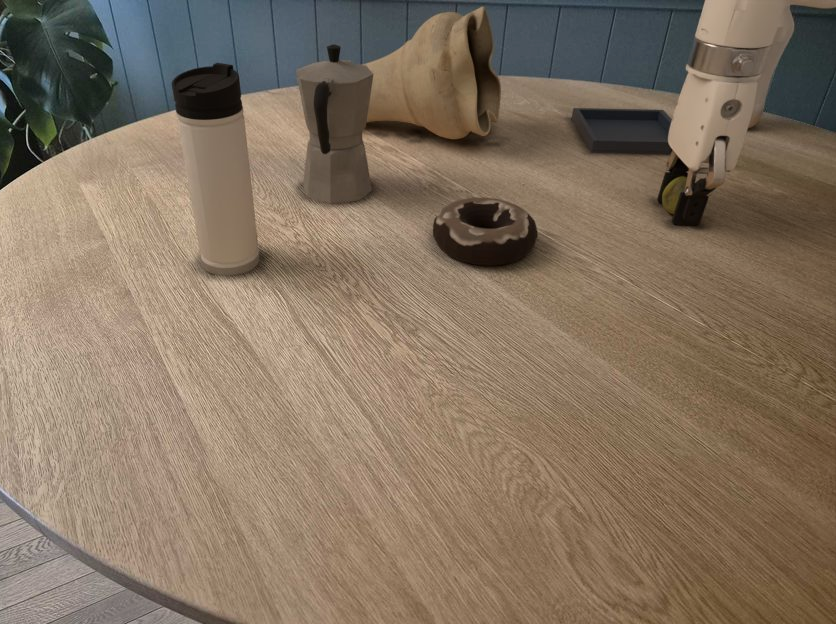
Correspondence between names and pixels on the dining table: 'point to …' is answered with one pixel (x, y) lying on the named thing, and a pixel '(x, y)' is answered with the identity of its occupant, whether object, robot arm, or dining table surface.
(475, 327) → the dining table surface
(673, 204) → the lime
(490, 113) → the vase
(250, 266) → the travel mug
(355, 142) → the coffeepot
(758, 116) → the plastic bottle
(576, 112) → the square tray
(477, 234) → the donut
